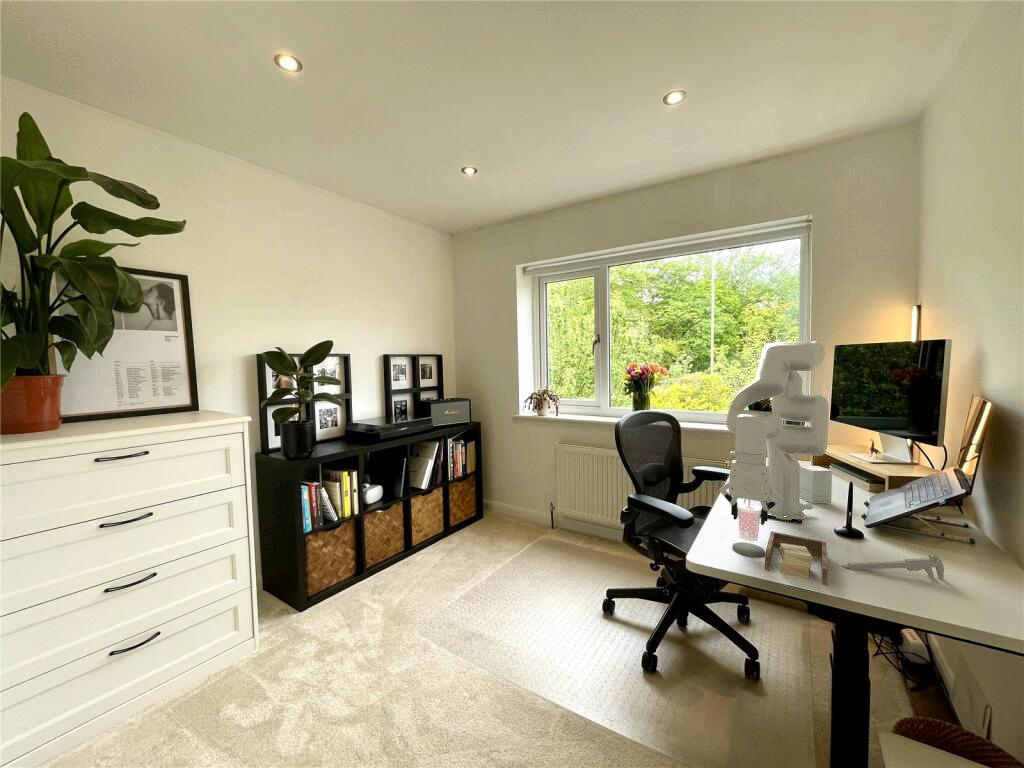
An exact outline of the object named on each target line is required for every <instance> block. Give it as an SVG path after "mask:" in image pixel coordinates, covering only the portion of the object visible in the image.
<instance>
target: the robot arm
mask: <svg viewBox="0 0 1024 768" xmlns="http://www.w3.org/2000/svg"><path fill="white" fill-rule="evenodd" d="M825 355H826V352H825V347H824V345H823V344H822V343H821V342H820V341H818V340H812V341H811V340H810V341H808V340H804V341H803V340H802V341H778V342H777V341H776V342H770V343H767V344H765V345H764V346H763V348H762V352H761V356H760V358H759V362H758V366H757V370H756V373H755V377H754V380H753V382H751V383H749V384H748V385H746V386H744V387H743V388H742V389H740V391H738V393H737V394H736V395H734V397H733V398H732V400H731V402H730V406H729V408H728V412H727V415H726V416H727V417H726V427H727V430H728V431H729V433H731V434H734V435H735V450H734V451H729V457H732V458H734V460H732V461H731V463H730V469H729V470H730V471H729V476H728V477H729V479H728V482H726V483H725V484H724V485H723V486H721V487H720V488H719V489H718V490H719V492H720V494H721V495H722V496H723V497H724V498H725V499H726V500H727V501H728V502H729V504H730V506H731V508H730V509H731V511H730V513H731V516H733V520H737V519H738V509H737V505H738V504H739V503H738V502H737V501H738V499H743V500H750V501H753V502H754V501H755V502H760V505H761V508H762V510H761V513H760V525H762V526H764V525H765V523H766V522H768V518H769V516H768V514H771V515H772V516H774V517H776V518H775V519H777V520H783V521H789V520H790V521H791V520H792V519H800V520H799V521H802V520H804V519H805V516H806V515H805V513H804V512H803V511H805V510H813V504H812V503H803V501H801V502H800V499H801V498H800V466H801V465H800V462H799V460H797V458H796V457H795V455H794V454H798V455H806V456H812V457H814V456H815V457H821V456H823V455H825V454H826V452H827V449H828V439H829V419H830V418H829V416H830V415H829V412H830V407H829V402H828V399H827V398H826V397H825V396H823V395H821V394H816V393H803V377H802V376H801V374H800V373H799V372H810V371H811V372H812V371H814V370H816V369H818V368H819V367H820V366H821V365H822V364H823V362H824V359H825ZM769 398H772V399H771V411H763V410H762V411H761V410H750V409H746V407H748V406H750V405H751V404H753V403H756V402H759V401H762V400H766V399H769ZM784 421H787V422H788V421H790V422H801V423H808V424H810V426H809V425H808V426H805V425H797V424H787V423H785V424H784ZM784 516H786V517H784ZM791 522H792V521H791Z"/></svg>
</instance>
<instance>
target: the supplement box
mask: <svg viewBox="0 0 1024 768" xmlns="http://www.w3.org/2000/svg"><path fill="white" fill-rule="evenodd" d="M832 483H833V471H832V470H831V469H828V468H825V467H821V466H819V465H809V466H807V465H804V466H801V465H800V497H801V498H802V500H803V499H804V501H806V502H808V503H810V502H811V503H810V504H812V503H831V504H832V491H833V489H832V488H833V487H832V486H833V484H832ZM801 498H800V499H801Z"/></svg>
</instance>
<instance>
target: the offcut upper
mask: <svg viewBox="0 0 1024 768" xmlns="http://www.w3.org/2000/svg"><path fill="white" fill-rule="evenodd" d="M779 550H780V552H779V555H780V557H781V558H782V559H783V561H784V563H785V564H790V565H796V566H803V567H809V568H810V569H811V568H812V557H813V555H811V554H810V553H809V551H808V550H807V548H806V547H804V546H797V545H790V544H783V543H780V549H779Z"/></svg>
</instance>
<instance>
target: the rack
mask: <svg viewBox="0 0 1024 768" xmlns="http://www.w3.org/2000/svg"><path fill="white" fill-rule="evenodd" d="M780 543H783V544H790V545H797V546H804V547H806V548H807V550H808V551H809V553H810V554H811V556H816V557H820V558H821V584H822V585H824V584H826V585H825V586H828V578H829V577H828V576H829V573H828V571H829V568H828V567H829V566H828V552H827V550H828V548H827V541H823V540H817V539H814V538H807V537H803V536H797V535H791V534H787V533H781V532H776V531H770V534H769V537H768V541H767V545H766V549H765V555H764V567H763V568H764V570H763V571H767V572H770V569H771V563H772V558H773V555H774V549H775V548H780Z"/></svg>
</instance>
